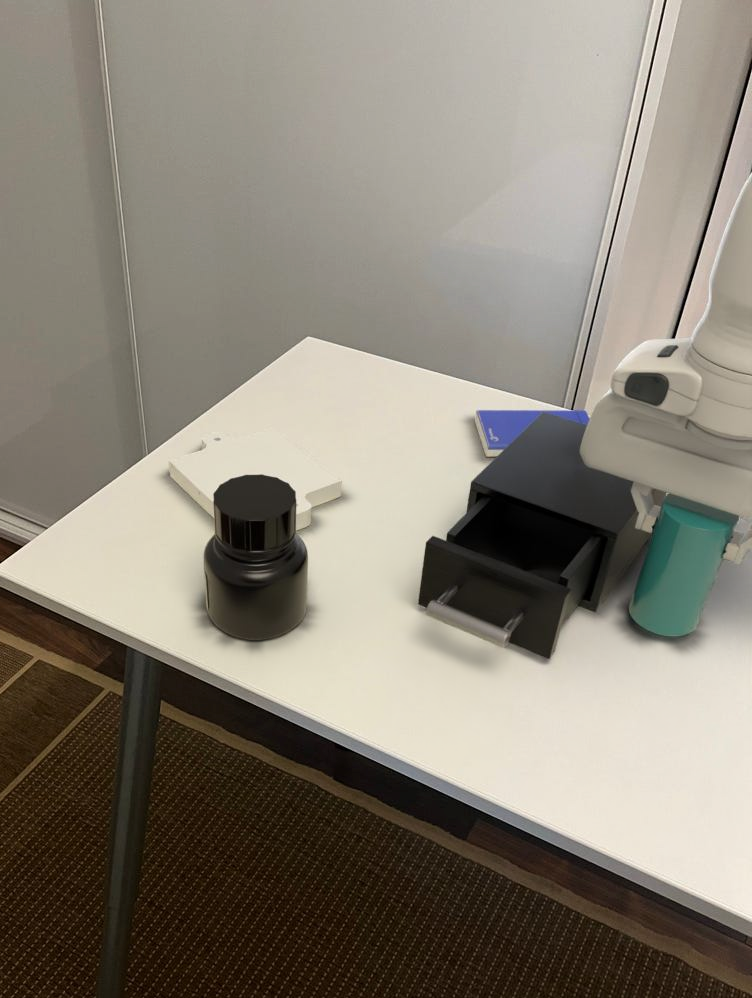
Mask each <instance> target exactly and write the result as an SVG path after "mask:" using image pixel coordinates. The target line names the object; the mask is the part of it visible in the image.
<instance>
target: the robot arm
mask: <svg viewBox="0 0 752 998" xmlns="http://www.w3.org/2000/svg"><path fill="white" fill-rule="evenodd" d="M580 455H581V457H582V460H583V462H584V463H585V465H586V466H587V467H590V468H593V469H596V470H599V471H602V472H605V473H609V474H612V475H615V476H618V477H621V478H624V479H627V480H630V481H633V485H632V489H631V494H632V496H633V499H634V502H635V505H636V508H637V511H638V512H639V515H638V518H637V521H636V525H635V528H636V529H639V530H641V531H644V532H647V533H650V534H651V535H652V533H653V530H654V527H655V524H656V521H657V517H658V514H659V511H660V508H661V507H659V506H656V505H654V501H653V497H652V493H651V490H652V489H653V488H654V489H658V490H661V491H664V492H667V494H669V493H670V494H673V495H676V496H679V497H682V498H685V499H688V500H691V501H694V502H697V503H701V504H704V505H707V506H710V507H713V508H716V509H719V510H722V511H725V512H728V513H731V514H734V515H737V516H739V518H740V517H741V518H743V519H746V520H750V521H752V172H751V173H750V174H749V176H748V177H747V178H746V180H745V183H744V185H743V187H741V190H740V192H739V195H738V197H737V199H736V201H735V204H734V206H733V208H732V209H731V212H730V215H729V218H728V221H727V223H726V225H725V228H724V231H723V234H722V237H721V239H720V243H719V246H718V249H717V251H716V256H715V258H714V262H713V265H712V268H711V272H710V275H709V281H708V300H707V304H706V308H705V310H704V313H703V315H702V317H701V318H700V320H699V321H698V323H697V324H696V325H695V327H694V329H693V331H692V334H691V337H685V338H683V337H682V338H659V339H648V340H645V341H643V342H642V343H640V344H639V345H637V346H636V347H635V348H634V349H632V350H631V351H630V352H629V353H628V354H627V355H626V356H625V357H624V358H623V359H622V360H621V361H620V363H619V364H618V365H617V367H616V369H615V370H614V372H613V374H612V377H611V381H610V388H609V390H608V391H607V392H606V393H605V394H604V395H603V396H602V397H601V399H600V400H598V402H597V403H596V405H595V407H594V409H593V411H592V412H591V415H590V416H589V422H588V424H587V427H586V430H585V433H584V436H583V439H582V442H581V446H580ZM751 548H752V524H751V526H750V528H749V531H747V532H746V533H745V534H742V533H739V532H735V531H734V533H733V536H732V538H731V539H730V540H729V541H728V543H727V546H726V548H725V550H726V551H725V552H724V554H723V556H722V558H723V560H726V561H728V562H732V563H734V564H737V565H741V564H742V563H743V561H744V559H745V557H746V555H747V553H748V551H749V550H750V549H751Z"/></svg>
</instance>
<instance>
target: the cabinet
mask: <svg viewBox="0 0 752 998" xmlns="http://www.w3.org/2000/svg"><path fill="white" fill-rule="evenodd" d="M586 427H587V425H586V424H582V423H579V422H576V421H573V420H569V419H566V418H563V417H559V416H556V415H553V414H550V413H546V412H542V413H541V414H540V415H539V416H538V417H537V418H536V419H535V420H534V421H533V422H532V423H531V424H530V425H529V426H528V427H527V428H526V429H525V430H523V431H522V432H521V433H520V434H519V435H518V436H517V437H516V438H515V439H514V440H513V441H512V442H511V443H510V444H509V445H508V446H507V447H506V448H505V449H504V450H503V451H502V452H501V453H500V454H499V455H498V456H497V457H495V458H494V459H493V460H492V461H491V462H490V463H488V464H487V466H486V467H485V468H484V469H483V470H481V471H480V472H479V473H478V475H476V476H475V478H473V479H472V480H471V482H470V487H469V493H468V497H467V506H466V512H465V514H466V513H467V512H468V511H469V510H470V509H471V508H472V507H473V506H474V505H475V504H476V503H477V502H478V501H479V500H480V499H481V498H482V497H483V496H484V495H485V494H486V495H489V496H492V497H494V498H497V499H500V500H503V501H506V502H509V503H511V504H514V505H517V506H520V507H523V508H525V509H528V510H531V511H534V512H537V513H540V514H542V515H545V516H548V517H551V518H554V519H557V520H559V521H562V522H565V523H568V524H571V525H573V526H576V527H579V528H582V529H585V530H588V531H590V532H593V533H596V534H599V535H602V536H605V537H607V541H606V545H605V548H604V552H603V555H602V559H601V562H600V566H599V570H598V573H597V577H596V580H595V583H594V584H593V586H592V587H591V588H590V590H589V591H588V592H587V594H586V595H585V596H584V598H583V599H582V600H581V602H580V603H579V604H578V606H579V607H582V608H585V609H587V610H590V611H592V612H595V613H596V612H597V611H598V610H599V608H600V607H601V605H602V604H603V603H604V601H605V600H606V599H607V597H608V595H609V594H610V593H611V591H613V589H614V587H615V586H616V584H617V583H618V582H619V581H620V579H621V577H622V576H623V575H624V573H625V572H626V570H627V569H628V568H629V566H630V565H631V564H632V562H633V561H634V559H635V558H636V557H637V555H638V554H639V553H640V551H641V550H642V548H643V547H644V545H645V544H646V543H647V542H648V540H649V538H651V536H652V534H650V533H647V532H644V531H641V530H639V529H636V528H635V525H636V521H637V518H638V515H639V512H638V511H637V508H636V505H635V502H634V499H633V496H632V494H631V489H632V485H633V481H630V480H627V479H624V478H621V477H618V476H615V475H612V474H609V473H605V472H602V471H599V470H596V469H593V468H590V467H587V466H586V465H585V463H584V462H583V460H582V457H581V455H580V446H581V442H582V439H583V436H584V433H585V430H586ZM651 493H652V497H653V501H654V505H656V506H659V507H661V505H662V502H663V499H664V497H665V496H666V495H667V494H668V493H667V492H664V491H661V490H658V489H654V488H653V489H652V490H651Z"/></svg>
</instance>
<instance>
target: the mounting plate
mask: <svg viewBox="0 0 752 998" xmlns="http://www.w3.org/2000/svg"><path fill="white" fill-rule="evenodd" d="M168 467H169V468H168V469H169V477H170V478H171V479H172V480H173V481H174V482H175V483H176V484H177V485H178V486H179V487H180V488H182V489H183V490H184V491H185V492H186V494H188V495H189V496H190V497H191V498H192V499H193V500H194V501H195V502H196V503H197V504H198V505H199V506H200V507H201V508H202V509H203V510H204V511H206V513H208V514H209V516H211V517H212V518H213V519H214V506H213V501H214V497H213V494H214V492H215V491H216V490H217V489H218V487H219V485H220V484H223V483H224V482H226V481H228V480H229V479H231V478H236V477H240V476H244V475H260V474H262V475H266V476H271V477H277V478H279V479H280V480H282V481H284V482H286V483H289V484H290V486H291V487H292V488H293V490H295V492H296V532H297V531H300V530H302V529H305V528H308V527H309V526H310V525H311V524H312V508H314V507H317V506H319V505H322V504H325V503H328V502H330V501H333V500H335V499H336V500H337V499H338V498H341V497H342V484H343V483H342V480H341V478H340V477H338V476H336V475H335V474H334V473H333V472H332V471H330V470H329V469H327V467H325V466H324V465H323V464H321V463H320V462H318V460H316V459H315V458H313V457H312V456H311V455H310V454H308V453H307V452H306V451H304V449H302V448H301V447H299V446H298V445H297V444H296V443H295V442H294V441H292V440H291V439H289V438H288V437H287V436H285V435H284V434H283V433H281V432H280V431H279V430H278V429H277V428H275V427H274V426H271V427H268V428H265V429H261V430H259V431H256V432H252V433H250V434H246V435H244V436H240V437H239V436H238V437H234V436H231V435H229V433H227V432H225V431H222V430H219V431H218V430H217V431H213V432H210V433H207V434H204V435H203V436H202V437H201V450H198V451H194V452H191V453H188V454H185V455H182V456H179V457H176V458H173V459H169V460H168Z"/></svg>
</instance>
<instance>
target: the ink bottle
mask: <svg viewBox="0 0 752 998" xmlns="http://www.w3.org/2000/svg"><path fill="white" fill-rule="evenodd" d="M213 497H214V501H213V506H214V518H213V523H214V526H213V527H214V534H213V535H212V536H211V537H210V539H209V540H208V541H207V543H206V545H205V547H204V550H203V575H204V590H205V591H204V592H205V607H206V611H207V615H208V617H209V619H210V620H211V622H212V623H213V624H214V625H215V626H216V627H217V628H218V629H219V630H220V631H223V632H224V633H226V634H228V635H231V636H233V637H236V638H239V639H242V640H248V641H261V640H268V639H269V640H270V639H272V638H276V637H280V636H281V635H284V634H285V633H288V632H289V631H291V630H293V629H294V628H296V626H298V625H299V624H300V623H301V621H302V620H303V619H304V617H305V615H306V613H307V606H308V580H309V579H308V578H309V577H308V575H309V572H308V571H309V552H308V548H307V545H306V544H305V542H304V540H303V539H302V537H300V535H299V534H297V531H296V492H295V490H293V488H292V487H291V486H290V484H289V483H286V482H284V481H282V480H280V479H279V478H277V477H271V476H266V475H262V474H260V475H244V476H240V477H236V478H231V479H229V480H228V481H226V482H224V483H223V484H220V485H219V487H218V489H217V490H216V491H215V492H214V494H213Z"/></svg>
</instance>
